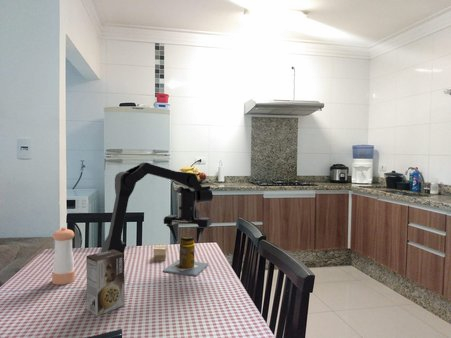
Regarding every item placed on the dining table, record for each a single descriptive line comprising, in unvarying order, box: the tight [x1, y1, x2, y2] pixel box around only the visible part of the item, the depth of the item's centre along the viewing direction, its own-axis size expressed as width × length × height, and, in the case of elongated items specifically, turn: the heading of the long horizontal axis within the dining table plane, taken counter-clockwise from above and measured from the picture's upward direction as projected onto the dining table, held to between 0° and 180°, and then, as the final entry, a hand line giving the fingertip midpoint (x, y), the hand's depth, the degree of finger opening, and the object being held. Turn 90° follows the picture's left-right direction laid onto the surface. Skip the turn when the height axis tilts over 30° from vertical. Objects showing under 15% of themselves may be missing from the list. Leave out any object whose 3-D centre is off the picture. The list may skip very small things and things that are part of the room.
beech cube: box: [153, 245, 168, 261], centre depth 148 cm, size 5×5×5 cm
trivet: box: [162, 259, 210, 277], centre depth 136 cm, size 14×14×1 cm
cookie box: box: [86, 250, 126, 316], centre depth 100 cm, size 9×6×16 cm
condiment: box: [172, 235, 198, 271], centre depth 136 cm, size 7×8×12 cm
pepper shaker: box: [51, 227, 76, 285], centre depth 120 cm, size 7×7×19 cm
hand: (187, 242), depth 136 cm, fingers open, 9 cm apart
